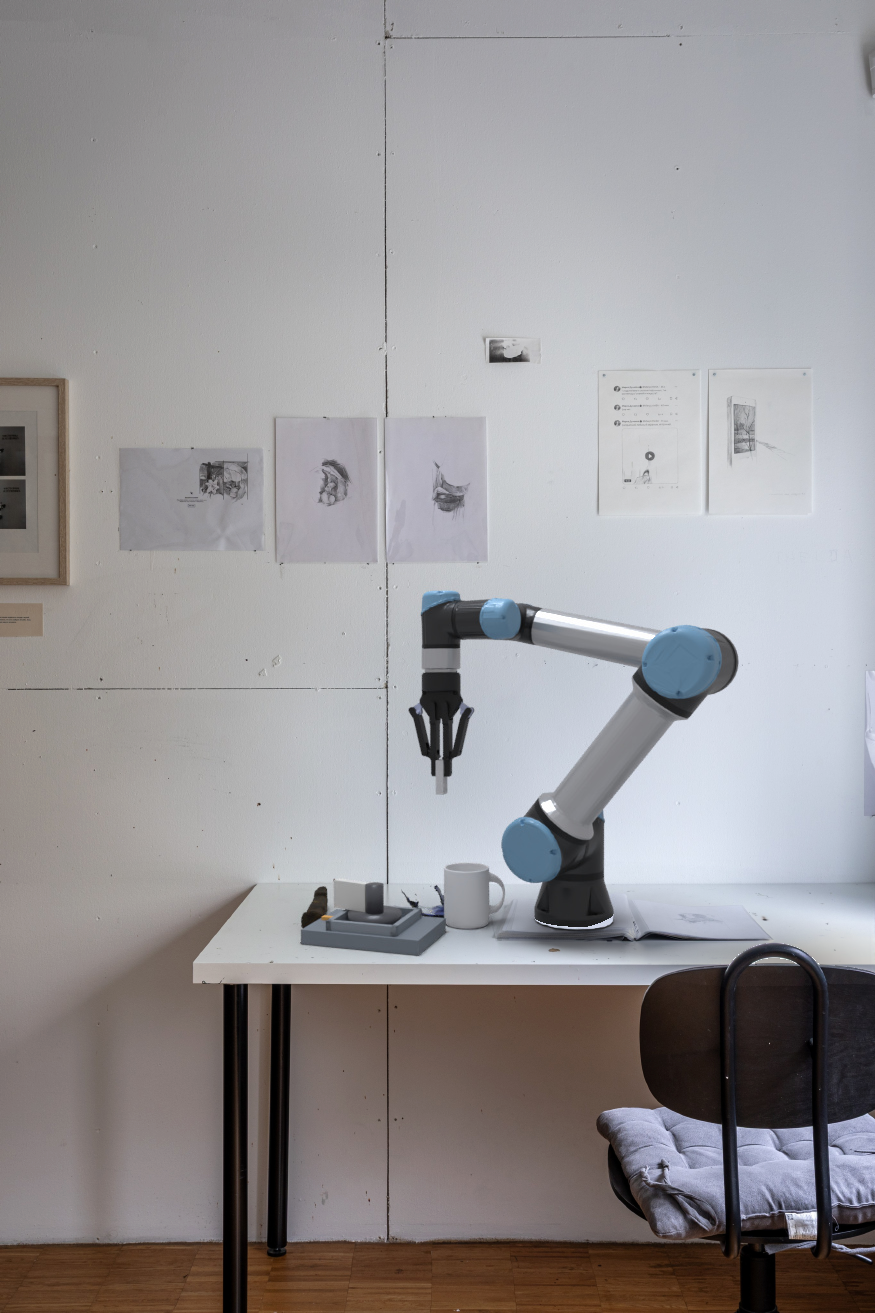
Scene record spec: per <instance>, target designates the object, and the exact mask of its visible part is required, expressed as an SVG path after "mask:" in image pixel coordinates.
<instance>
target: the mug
mask: <svg viewBox="0 0 875 1313" xmlns="http://www.w3.org/2000/svg"><path fill="white" fill-rule="evenodd" d="M490 883H496V884H498V885H499V887H500V888H501V892H502V896H501V899H500V901H499V902H498V903H497V904H494V905H493V904H490ZM505 890H506V889H505V884H504V882H503V880H502V879H501V878H499V876H498V875H496V874H495V873H492V872H490V867H489V865H486V864H485V863H478V862H454V863H450V864H449V863H448V864H446V865H444V867H443V895H444V918H446V926H448V927H450V928H453V929H460V930H474V929H481V928H484V927H486V926H487V925H488V923H489V922H490V915H493V914H496V913H497V912H498V911H500V910H501V908H502V907H503V904H504V901H505V896H506V891H505Z"/></svg>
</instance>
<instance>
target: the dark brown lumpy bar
mask: <svg viewBox="0 0 875 1313" xmlns="http://www.w3.org/2000/svg"><path fill="white" fill-rule="evenodd" d="M328 902H329V899H328V888H327V887H326V886H325V885H324V886H323V885H322V886H319V887H317V889H315V890H314V894H313V898H312V901H311V902H310V903H309V905H308V908H307V910H306V911H305V912H302V915H301V917H300V918H301V919H300V922H301V923H300V924H301V925H300V927H301V929H303V928H305V927H306V926H308V925H310V924H312V923H313V922H315V921H317V920H319V919H320V918H321V917H322V916H324V915H326V913H328V908H329V906H328ZM325 912H326V913H325Z"/></svg>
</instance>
